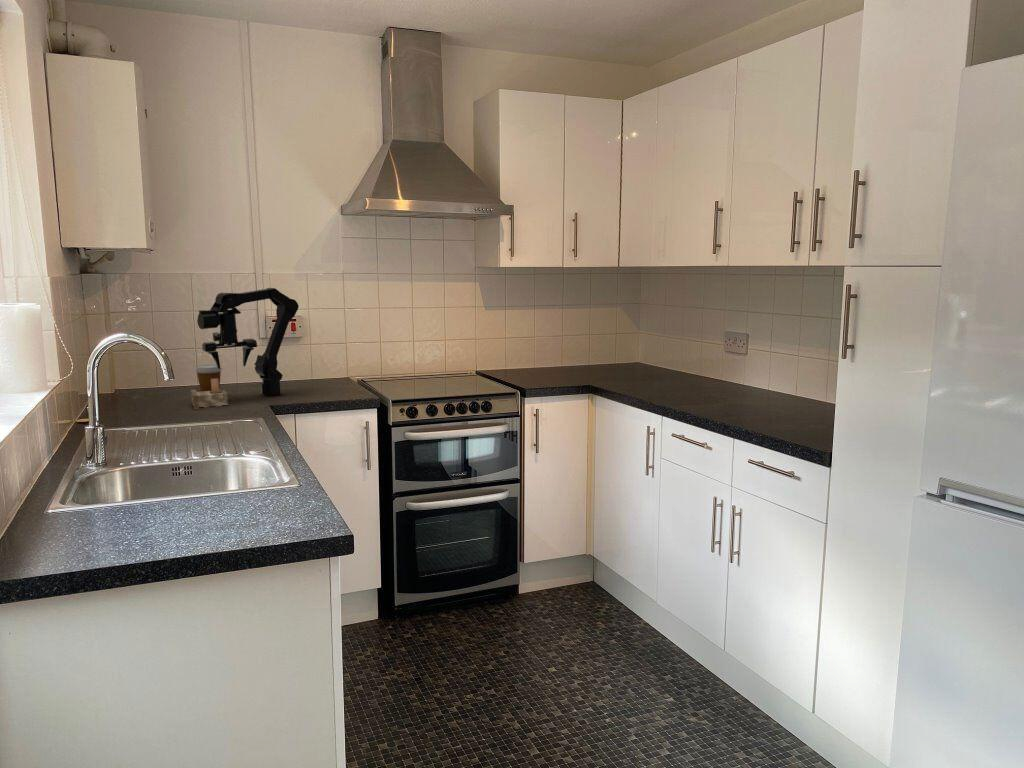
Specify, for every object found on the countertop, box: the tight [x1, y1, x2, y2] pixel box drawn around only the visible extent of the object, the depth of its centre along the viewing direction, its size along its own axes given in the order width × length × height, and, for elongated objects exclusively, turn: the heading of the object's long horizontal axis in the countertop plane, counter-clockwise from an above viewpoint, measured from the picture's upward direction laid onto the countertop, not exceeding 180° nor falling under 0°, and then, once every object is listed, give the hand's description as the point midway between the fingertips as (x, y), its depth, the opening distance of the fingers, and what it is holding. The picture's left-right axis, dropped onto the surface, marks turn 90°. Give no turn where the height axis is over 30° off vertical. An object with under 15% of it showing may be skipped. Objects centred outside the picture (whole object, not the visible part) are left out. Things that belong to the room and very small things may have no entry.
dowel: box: [211, 378, 219, 394], centre depth 280 cm, size 3×3×8 cm
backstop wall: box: [190, 389, 200, 410], centre depth 277 cm, size 2×13×5 cm, turn 27°
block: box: [196, 389, 229, 408], centre depth 280 cm, size 10×8×4 cm
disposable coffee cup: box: [195, 364, 222, 392], centre depth 295 cm, size 10×10×12 cm
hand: (231, 367), depth 286 cm, fingers open, 9 cm apart
